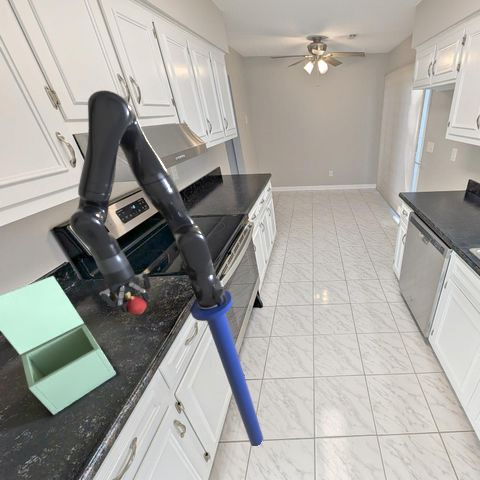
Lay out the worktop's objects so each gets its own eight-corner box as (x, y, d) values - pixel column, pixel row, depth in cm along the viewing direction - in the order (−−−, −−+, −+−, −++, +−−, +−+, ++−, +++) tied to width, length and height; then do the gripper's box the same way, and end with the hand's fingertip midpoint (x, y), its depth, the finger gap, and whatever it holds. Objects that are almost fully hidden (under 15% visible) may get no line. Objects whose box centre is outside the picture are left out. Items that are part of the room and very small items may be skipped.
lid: (53, 276, 73) (53, 275, 73) (-22, 303, 63) (-22, 302, 64) (84, 323, 79) (83, 322, 79) (19, 354, 69) (19, 353, 69)
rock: (112, 285, 112) (97, 296, 103) (119, 269, 111) (105, 280, 102) (137, 294, 116) (126, 306, 106) (145, 279, 114) (134, 290, 105)
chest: (116, 374, 75) (99, 348, 70) (53, 415, 65) (28, 388, 60) (100, 348, 84) (84, 323, 79) (43, 380, 74) (20, 355, 69)
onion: (130, 313, 91) (120, 296, 88) (148, 305, 94) (139, 288, 91) (132, 322, 87) (122, 304, 83) (151, 313, 90) (142, 296, 87)
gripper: (90, 281, 74) (116, 323, 82) (143, 259, 84) (162, 298, 92) (84, 274, 79) (109, 314, 86) (135, 253, 88) (153, 291, 96)
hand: (136, 305), depth 89 cm, fingers closed on onion, 6 cm apart
